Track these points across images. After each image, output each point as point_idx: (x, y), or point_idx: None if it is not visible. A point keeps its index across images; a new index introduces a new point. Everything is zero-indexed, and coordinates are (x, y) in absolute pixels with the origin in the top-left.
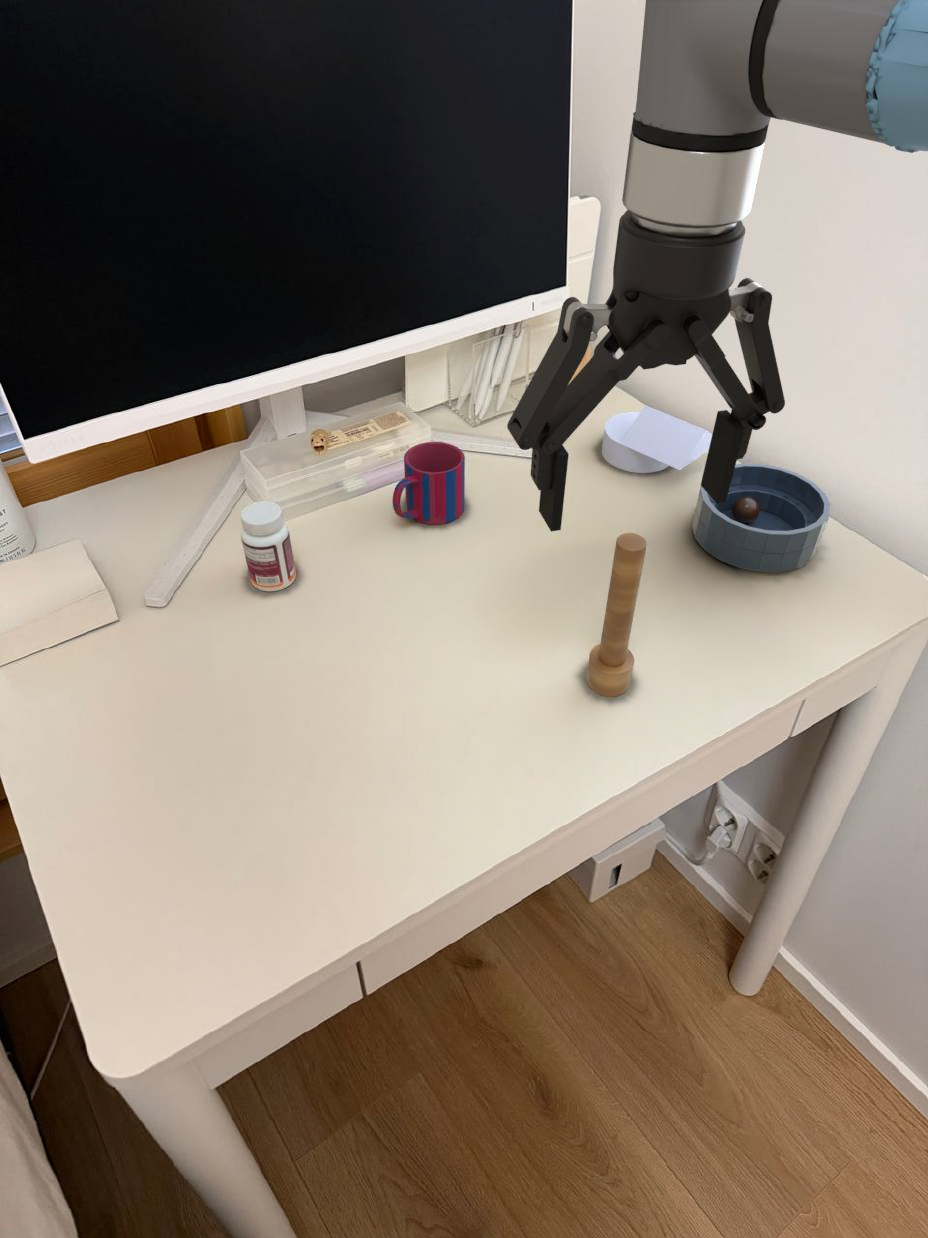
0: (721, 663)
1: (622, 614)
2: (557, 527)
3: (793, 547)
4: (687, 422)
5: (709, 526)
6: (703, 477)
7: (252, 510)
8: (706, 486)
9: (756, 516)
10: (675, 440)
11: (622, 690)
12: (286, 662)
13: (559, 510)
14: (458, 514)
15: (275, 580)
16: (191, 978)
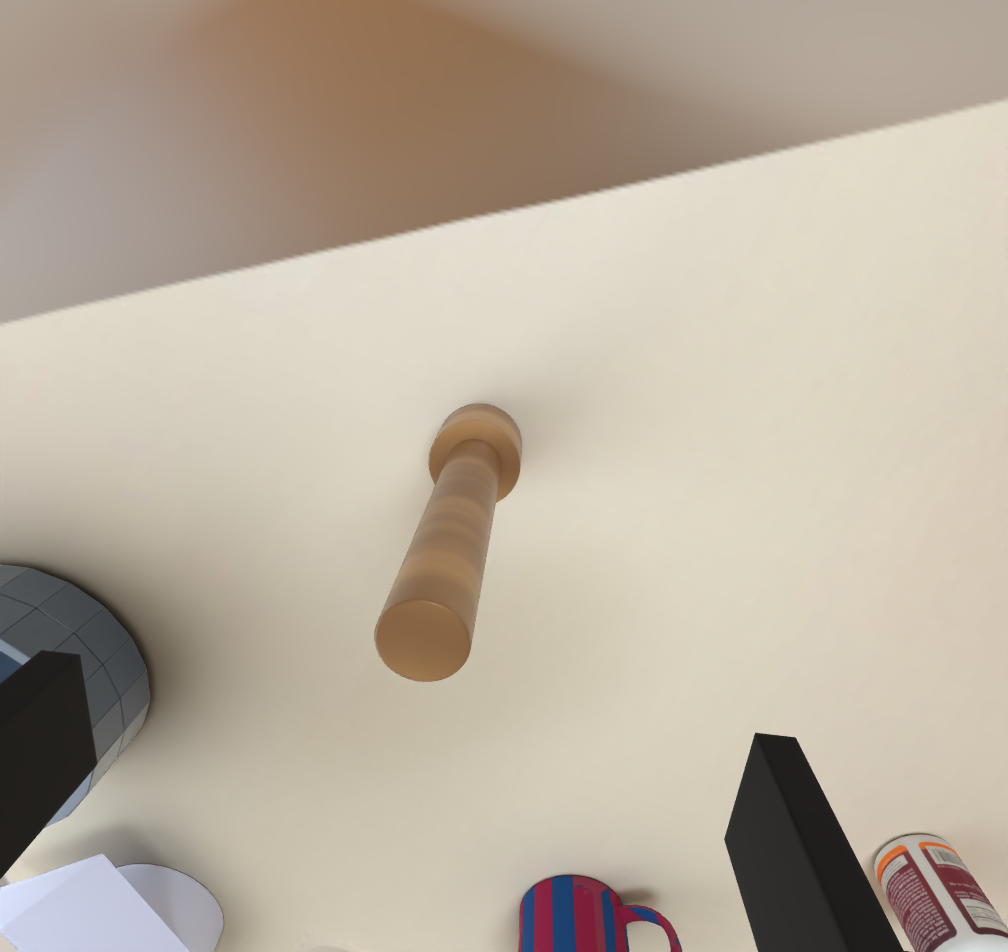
0: (248, 404)
1: (468, 497)
2: (774, 745)
3: None
4: None
5: (112, 705)
6: (70, 789)
7: None
8: (79, 746)
9: None
10: (76, 923)
11: (471, 407)
12: (994, 686)
13: (804, 815)
14: (545, 887)
15: (939, 855)
16: None
